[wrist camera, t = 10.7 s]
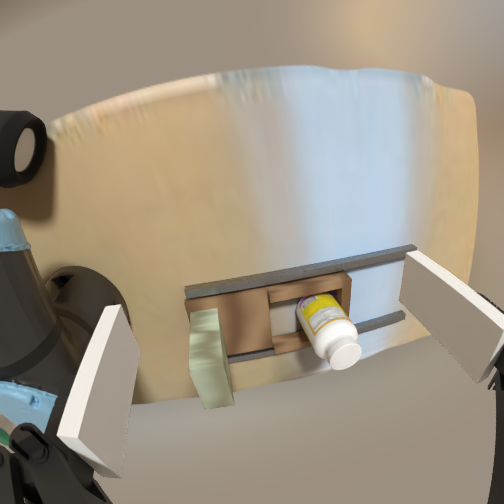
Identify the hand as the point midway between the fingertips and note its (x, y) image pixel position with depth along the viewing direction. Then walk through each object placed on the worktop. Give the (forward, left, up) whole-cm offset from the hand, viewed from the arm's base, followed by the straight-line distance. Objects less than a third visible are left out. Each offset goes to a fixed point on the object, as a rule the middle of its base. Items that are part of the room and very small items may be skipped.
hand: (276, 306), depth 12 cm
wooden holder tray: (+17, -12, -26) cm, 34 cm away
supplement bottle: (+22, -7, -27) cm, 36 cm away
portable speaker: (-36, -14, -27) cm, 47 cm away
